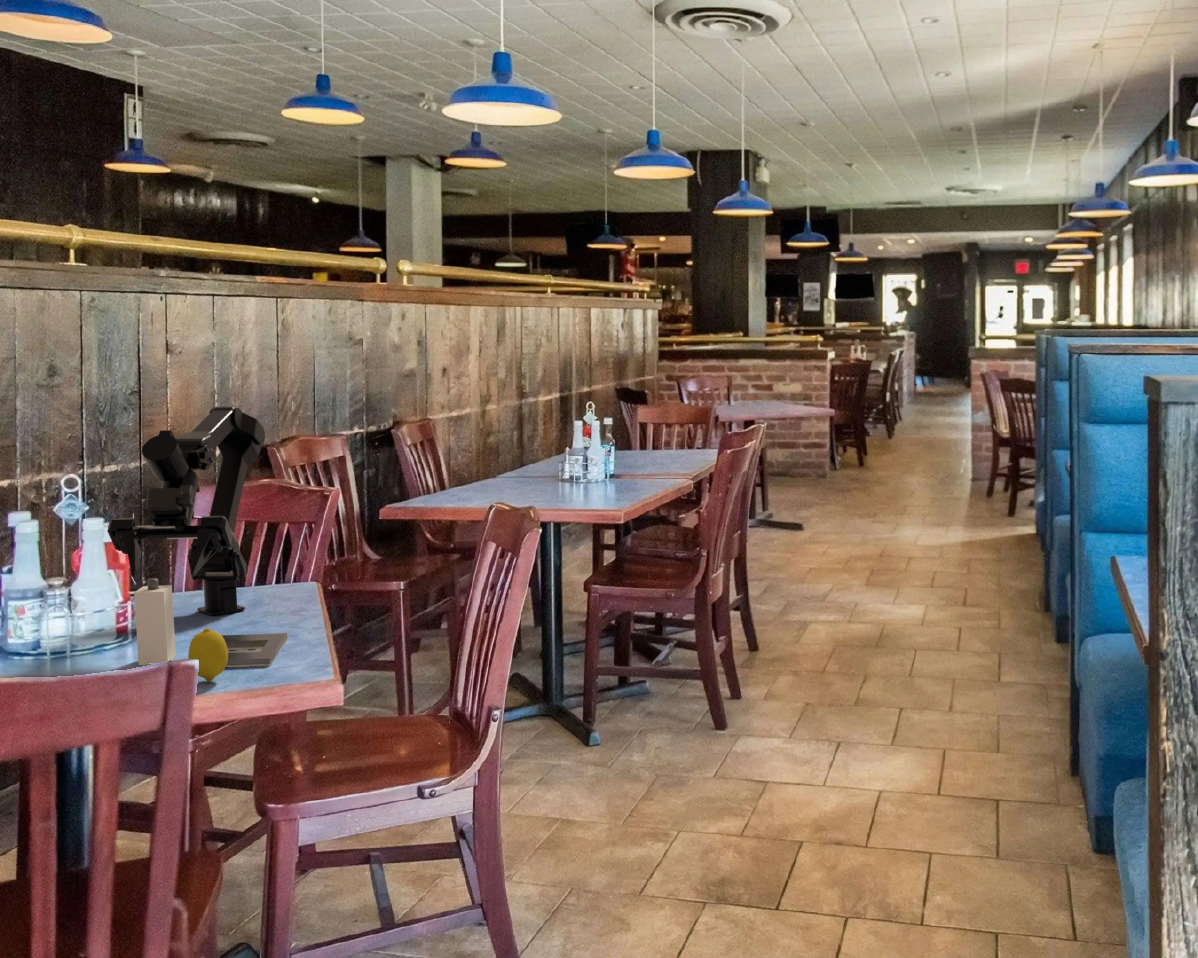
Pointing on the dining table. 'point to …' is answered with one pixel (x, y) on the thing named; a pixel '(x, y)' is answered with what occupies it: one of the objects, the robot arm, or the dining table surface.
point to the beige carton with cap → (154, 623)
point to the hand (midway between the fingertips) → (163, 575)
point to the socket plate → (253, 649)
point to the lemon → (209, 653)
